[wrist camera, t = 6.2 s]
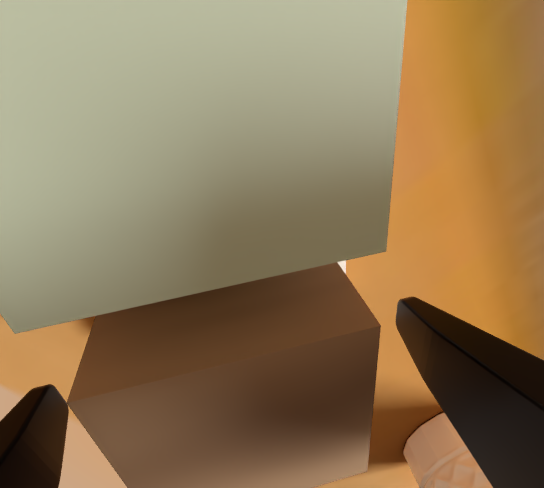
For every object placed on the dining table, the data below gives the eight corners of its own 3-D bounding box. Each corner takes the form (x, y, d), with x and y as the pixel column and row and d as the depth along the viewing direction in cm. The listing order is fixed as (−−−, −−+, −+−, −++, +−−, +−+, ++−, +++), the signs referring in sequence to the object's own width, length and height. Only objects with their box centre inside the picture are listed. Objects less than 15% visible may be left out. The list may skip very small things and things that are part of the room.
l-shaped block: (327, 294, 15) (420, 464, 9) (138, 338, 14) (101, 562, 8) (315, -79, 8) (633, -381, 2) (-39, -47, 7) (-995, -431, 1)
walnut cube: (306, 327, 12) (367, 471, 8) (170, 359, 12) (160, 533, 8) (298, 204, 10) (381, 325, 6) (121, 238, 9) (66, 402, 5)
